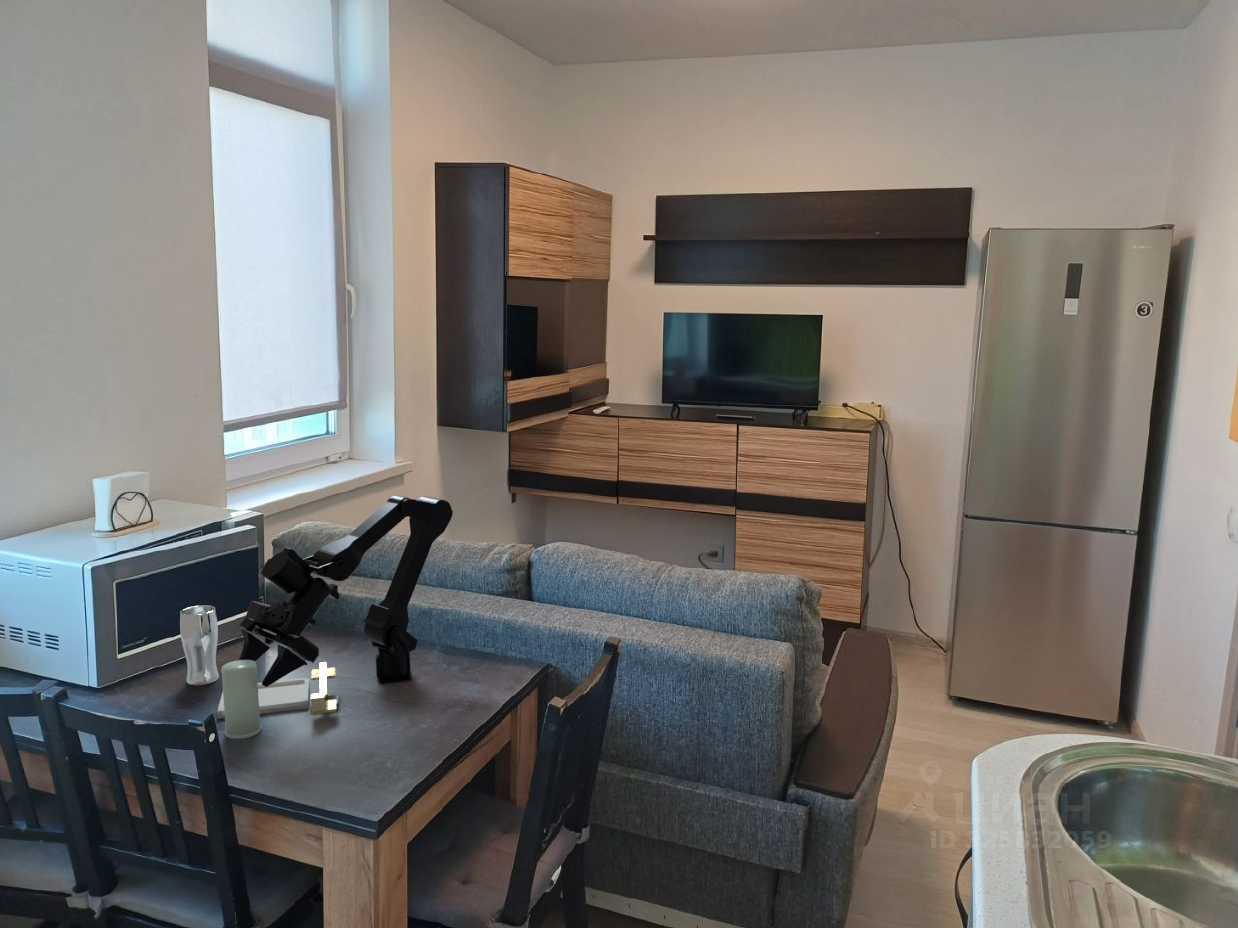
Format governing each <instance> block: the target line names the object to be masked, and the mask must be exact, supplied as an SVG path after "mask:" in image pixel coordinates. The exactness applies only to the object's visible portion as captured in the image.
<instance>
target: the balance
mask: <svg viewBox="0 0 1238 928" xmlns="http://www.w3.org/2000/svg"><path fill="white" fill-rule="evenodd" d="M335 678H336V667H335V666H334V667H327V662H326V661H324V662H319V668H317V669H316V668H315V669H311V681H318V680H319V692H316V693H310V713H311V715H317V714H324V713H325V714H326V713H327V714H328V713H332V712H333V713H334V712H337V710H339V695H338V694H332V695H329V692H328V691H329V690H328V681H327V680H328V679H335Z"/></svg>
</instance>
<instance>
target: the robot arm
mask: <svg viewBox="0 0 1238 928" xmlns="http://www.w3.org/2000/svg"><path fill="white" fill-rule="evenodd" d="M453 512H454V510H453V509H452V505H451V504H450V502H448V501H447V500H445V499H440V498H435V497H431V496H426V495H424V496H420V497H418V498H416V499H414V498H409V497H405V496H400V495H393V496H391V497H389V498H388V499H387V501H386V502H385V503H384V504H383V505H382V506H381V507H379V509H377V510H376V511H375V512H374V513H372V514H371V515H370V516H369V517H368V518H367V519H365V520H364V521H363V522H362V523H360V524H359V526H357V527H356V528H355V529H354V530H352V531H351V532H350V533H349V534H347V535H345V536H344V537H343V538H339V539H336V540H333V541H331V542H329V543H327V544H326V545H324V546H323V547H321V548H319V549H318V550H317V551H315V553H314V554H312V555H309V556H307V557H304V558H302V557H301V556H300V555H299V554H298V553H297V552H296V551H295V550H294V549H293V548H290V547H284V548H283V550H282V551H281V552H278V553H276V554H274V555H273V556H272V557H271V558H268V559H267V560H266V562H265V563H264V564H263V567H262V571H261V574H262V576H263V577H264V578H265V579H266V580H267V581H269V582H270V583H272V584H273V585H274V586H275V587H276V588H278V589H280V590H281V591H282V592H283V593H285V594H291V595H290V597H289V599H288V600H286V601H284V600H280V601H279V602H278V603H277V602H272V603H271V604H267V603H263V602H258V601H254V600H250V604H249V606H248V609H247V612H246V614H245V616H244V619H243V620H242V621H241V623H240V624H239V627H240V628H241V630H240V632H241V634H242V636H243V645H242V649H241V653H240V655H239V659H238V660H252V661H255V662H257V660H258V659H260V658H261V657H262V656H263V655H265V653H266V652H267V651H270V649H271V647H270V646H268V645H271V644H273V643H277V656H276V658H275V660H274V662H273V663H272V664H271V665H270V667H269V670H268V672H267V673H266V675H265V677H264V678H263V681H262V682H261V683H262V685H263V686H265V687H268V686H269V685H271V684H272V683H274V682H276V681H280V679H282V678H284V677H285V676H287V675H288V674H289V675H290V673H292V672H295V671H296V670H298V669H300V668H301V667H303V666H305V667H307V665H308V663H311V664H314V663H315V662H316V661H317V659H318V657H320V648H319V647H318V646H317V645H315V644H314V643H313V642H312V641H310V640H309V639H307V638H306V637H305V636H304V635H302V634H303V633H304V632H305V630H306V629H307V627H308V626H309V625H310V626H312V627H313V626H314V625H315V624H316V623H317V620H315V619H314V617H315V616H316V615H317V613H318V612H319V610H320V609H321V607H322V606H323V605H324V603H325V602H326V600H327V599H328V598H330V599H333V600H340V593H339V590H338V588H339V587H338V586H339V585H338V584H335V583H328V582H327V581H326V580H324V579H323V578H325V579H329V580H332V581H335V582H343V581H345V580H347V579H349V578H350V577H351V576H352V574H353V573H354V572H355V571H356V570H357V569H358V567H359V566H360V564H361V562H362V558H363V557H364V555H365V554H366V552H368V551H369V550H370V549H371V548H372V547H373V546H375V544H376V543H378V542H379V541H381V539H382V538H384V537H385V536H386V535H387V534H388V533H389V532H391V531H393V529H394V528H395V527H396V526H397V525H399V524H400V523H401V522H402V521H403V520H405V519H406V518H409V520H408V522H409V531H410V534H409V537H408V540H407V541H406V545H405V547H404V550H403V552H402V555H401V557H400V559H399V562H398V565H397V567H396V569H395V572H394V575H393V578H392V580H391V582H390V585H389V587H388V589H387V592H386V595H385V597H384V599H383V600H381V602H379V603H378V604H375V603H371V605H370V606H369V609H368V612H367V615H366V617H365V619H364V620H363V623H365V624H364V627H363V632H364V633H365V637H366V639H368V640H369V641H370V643H371V645H372V647H373V648H377V654H375V655H374V657H375V673H376V678H377V679H378V680H379V683H380V684H386V683H397V682H404V681H412V679H413V675H412V671H411V652H413V651H416V649H417V648H416V647H417V645H418V644H417V643H418V639H417V638H416V637H415V636H413V635H412V634H410V632H408V627H409V624H410V623H409V622H410V619H409V618H410V617H409V609H408V608H409V604H410V602H411V599H412V595H413V593H414V591H415V588H416V586H417V585H418V581H419V578H420V576H421V575H422V574H421V573H422V571H423V568H424V566H425V563H426V562H427V558H428V555H429V553H430V550H431V547H432V545H433V543H434V541H436V540H438V538H439V537H441V535H442V534H443V533H445V531H446V530H447V527H448V525H449V524H450V522H451V520H452V518H453V515H454V513H453ZM312 574H313V575H316V576H317V577H314V576H312Z"/></svg>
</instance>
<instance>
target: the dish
mask: <svg viewBox="0 0 1238 928" xmlns="http://www.w3.org/2000/svg"><path fill="white" fill-rule="evenodd" d="M258 695H259V711H260V715H262V714H270V713H271V714H272V713H277V712H278V713H279V712H285V711H286V712H287V711H297V710H302V709H303V710H305V709H308V708H309V701H310V700H309V698H310V677H301V678H291V679H290V678H289V679H284V680H283V679H281V680H277V681H276V682H274V683H272V684H271V685H269V686H268V687H265V686H263V685H262V682H258ZM219 719H225V712H224V697H223V691H222V693H221V697H220V700H219V703H218V708H217V720H219Z"/></svg>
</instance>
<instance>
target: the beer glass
mask: <svg viewBox="0 0 1238 928" xmlns="http://www.w3.org/2000/svg"><path fill="white" fill-rule="evenodd" d="M179 614H180V617H179V618H180V619H179V626H180V627H179V630H180V640H181V645H182V648H183V651H184V652H183V653H184V656H185V660H186V663H187V664H186V665H187V671H186V672H187V673H186V683H187V684H188V685H190V686H205V685H210V684H212V683H215V682H217V681H218V680H219V678H220V675H219V672H218V668H217V663H216V662H217V661H216V657H217V648H218V640H219V639H218V638H219V630H218V629H219V627H218V626H219V625H218V618H217V613H216V607H215V606H213V605H209V604H208V605H206V604H205V605H204V604H201V605H194V606H189V607H186V608H184V609H181V610H180V611H179Z"/></svg>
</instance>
